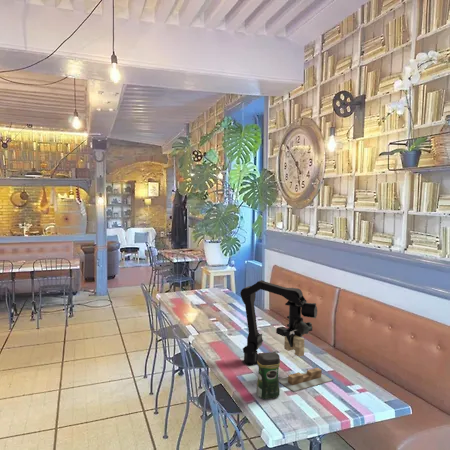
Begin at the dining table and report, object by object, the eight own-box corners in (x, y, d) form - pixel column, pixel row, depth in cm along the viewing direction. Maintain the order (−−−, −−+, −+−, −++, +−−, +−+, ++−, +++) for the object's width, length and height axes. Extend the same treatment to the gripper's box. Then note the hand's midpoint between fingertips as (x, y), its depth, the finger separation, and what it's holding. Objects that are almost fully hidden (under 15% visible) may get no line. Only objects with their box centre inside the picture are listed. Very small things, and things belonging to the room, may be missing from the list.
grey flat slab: (293, 392, 164) (293, 383, 163) (276, 380, 174) (277, 372, 174) (332, 380, 176) (333, 372, 175) (314, 370, 186) (315, 362, 186)
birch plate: (299, 356, 176) (299, 340, 176) (284, 348, 186) (284, 333, 186) (304, 355, 178) (304, 339, 178) (288, 347, 187) (289, 332, 187)
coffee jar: (273, 389, 165) (275, 348, 164) (281, 398, 158) (283, 355, 157) (253, 392, 163) (255, 350, 162) (260, 401, 155) (262, 357, 154)
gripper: (291, 322, 169) (290, 355, 170) (320, 316, 179) (320, 348, 180) (275, 315, 179) (275, 347, 180) (304, 310, 188) (304, 341, 189)
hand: (294, 346), depth 182 cm, fingers closed on birch plate, 3 cm apart
